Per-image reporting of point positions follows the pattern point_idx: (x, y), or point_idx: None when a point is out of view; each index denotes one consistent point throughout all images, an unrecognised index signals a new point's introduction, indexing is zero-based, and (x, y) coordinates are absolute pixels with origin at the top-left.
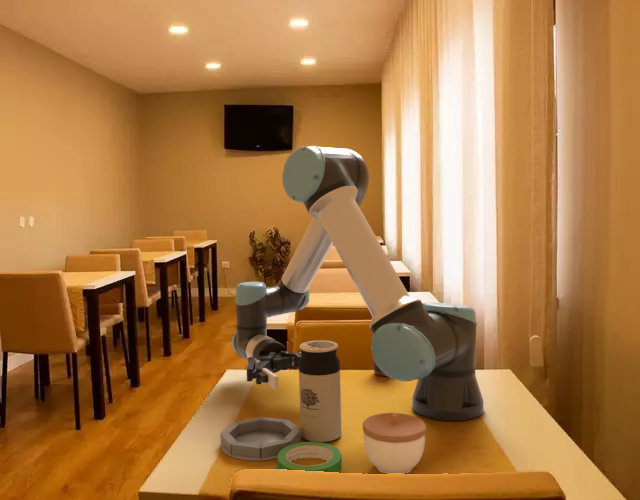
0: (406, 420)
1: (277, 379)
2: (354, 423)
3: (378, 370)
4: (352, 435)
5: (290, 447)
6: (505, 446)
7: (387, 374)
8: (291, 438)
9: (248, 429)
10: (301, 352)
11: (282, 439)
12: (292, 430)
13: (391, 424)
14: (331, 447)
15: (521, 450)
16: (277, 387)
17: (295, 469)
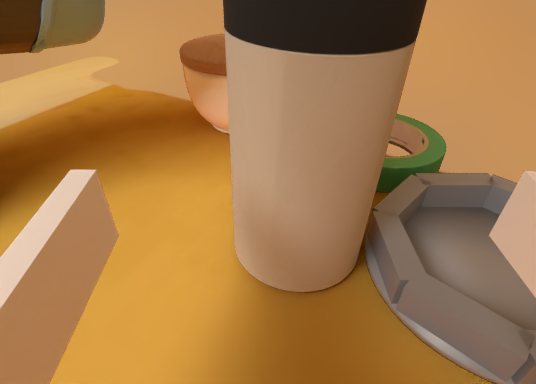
0: (210, 44)
1: (519, 187)
2: (152, 271)
3: None
4: (218, 216)
5: (414, 160)
6: (39, 109)
7: (102, 24)
8: (407, 182)
9: None
10: None
11: (420, 252)
12: (397, 213)
13: None
14: None
15: (40, 99)
16: (498, 227)
17: (413, 119)
